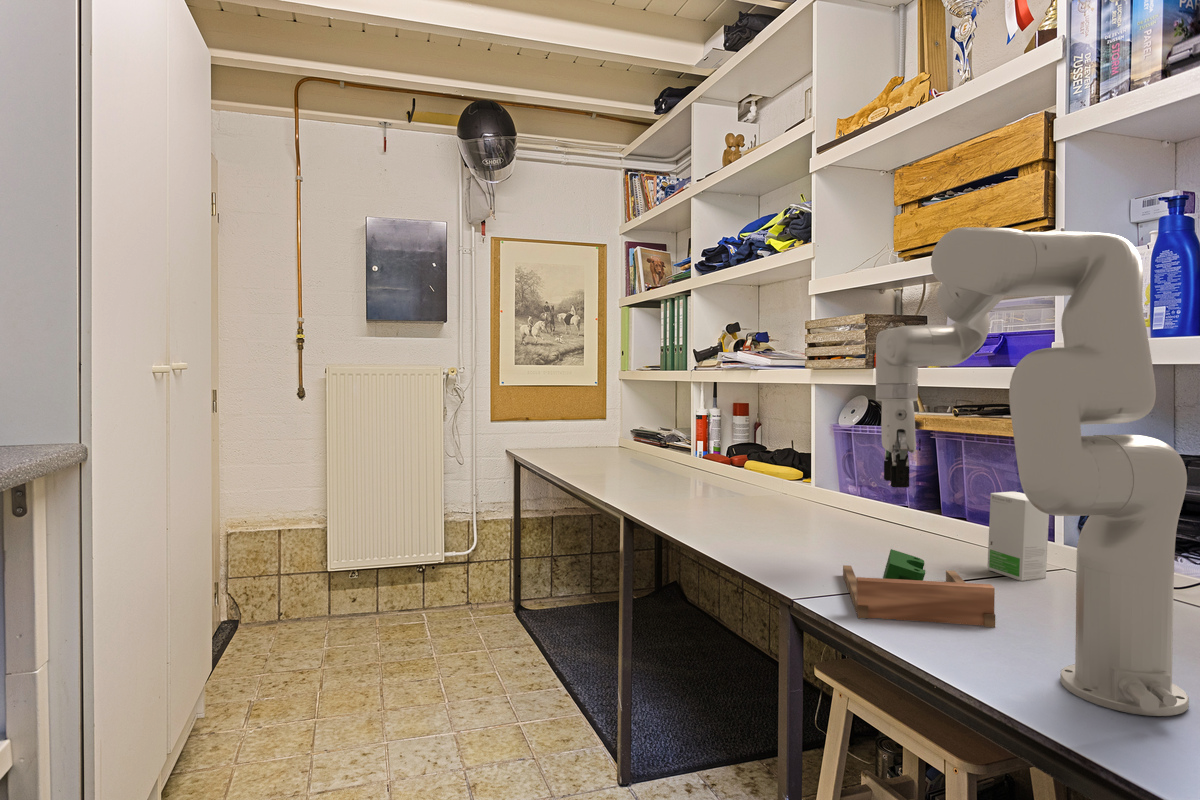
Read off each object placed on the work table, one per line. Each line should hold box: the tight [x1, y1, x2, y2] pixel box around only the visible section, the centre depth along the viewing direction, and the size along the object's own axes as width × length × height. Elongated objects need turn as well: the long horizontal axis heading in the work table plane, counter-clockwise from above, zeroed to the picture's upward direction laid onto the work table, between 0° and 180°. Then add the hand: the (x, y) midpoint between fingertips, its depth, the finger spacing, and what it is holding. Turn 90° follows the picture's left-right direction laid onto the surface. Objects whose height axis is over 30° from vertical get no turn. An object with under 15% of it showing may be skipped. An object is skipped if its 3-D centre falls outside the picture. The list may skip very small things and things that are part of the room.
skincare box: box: [986, 491, 1050, 582], centre depth 137 cm, size 8×7×16 cm
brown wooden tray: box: [842, 564, 996, 628], centre depth 124 cm, size 25×20×6 cm
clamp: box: [882, 548, 926, 581], centre depth 130 cm, size 12×6×9 cm, turn 151°
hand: (896, 483), depth 138 cm, fingers open, 7 cm apart
